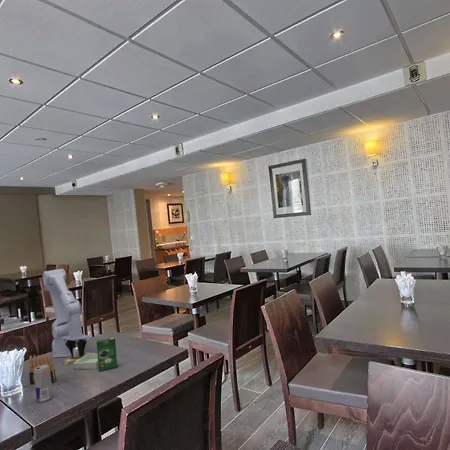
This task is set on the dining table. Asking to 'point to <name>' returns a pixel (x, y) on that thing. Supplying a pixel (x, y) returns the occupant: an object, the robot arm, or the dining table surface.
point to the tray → (87, 362)
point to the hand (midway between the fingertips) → (77, 355)
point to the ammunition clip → (39, 362)
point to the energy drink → (43, 383)
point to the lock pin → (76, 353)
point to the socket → (72, 359)
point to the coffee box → (106, 354)
